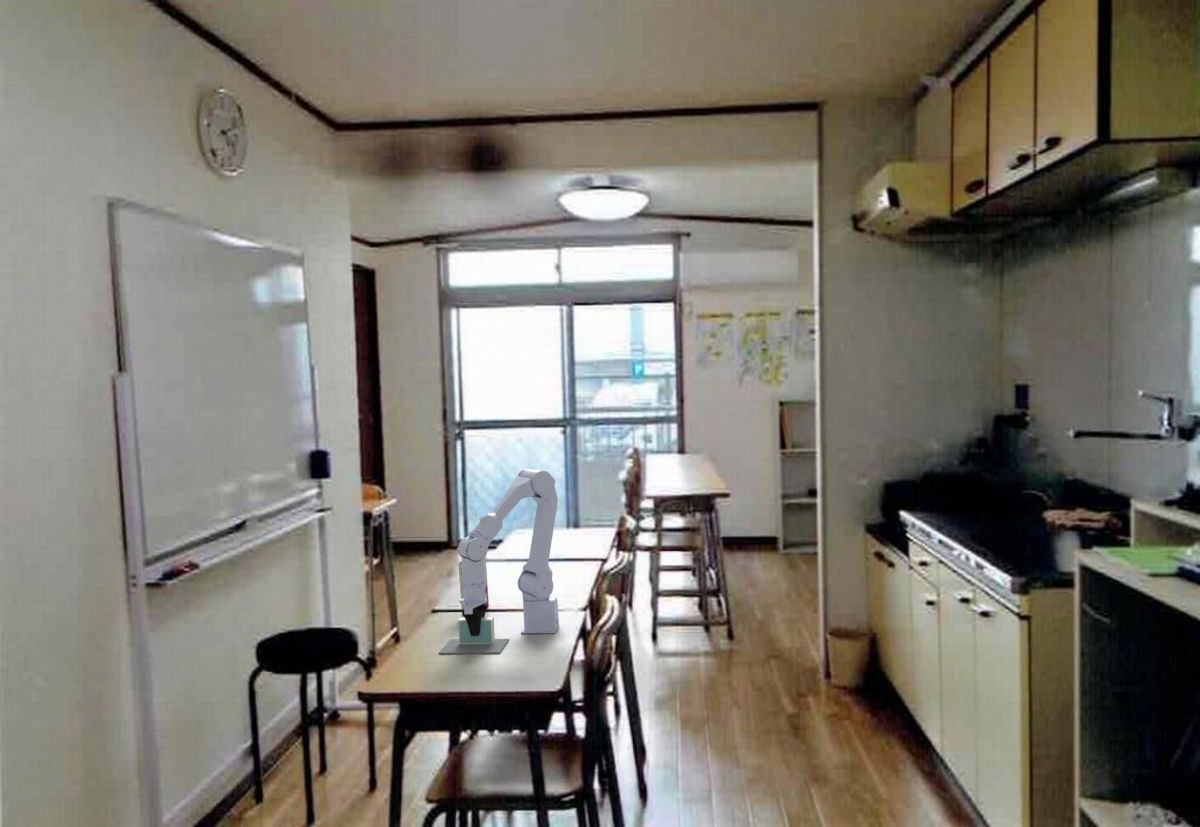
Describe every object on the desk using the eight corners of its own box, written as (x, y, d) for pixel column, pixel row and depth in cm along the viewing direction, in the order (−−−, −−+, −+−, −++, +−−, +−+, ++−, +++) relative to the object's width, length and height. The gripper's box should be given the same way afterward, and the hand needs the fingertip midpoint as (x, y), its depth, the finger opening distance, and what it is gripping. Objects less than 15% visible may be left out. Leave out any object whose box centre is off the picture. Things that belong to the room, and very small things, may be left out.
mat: (509, 640, 234) (509, 638, 234) (500, 653, 223) (500, 652, 223) (450, 640, 236) (450, 639, 236) (438, 654, 225) (438, 652, 225)
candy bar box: (473, 607, 268) (470, 553, 267) (489, 607, 267) (486, 553, 266) (460, 617, 257) (457, 562, 256) (476, 617, 256) (474, 562, 255)
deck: (494, 640, 232) (493, 617, 232) (492, 643, 230) (491, 619, 230) (461, 641, 233) (460, 617, 233) (459, 644, 231) (457, 620, 231)
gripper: (466, 576, 238) (468, 625, 239) (451, 590, 224) (454, 642, 225) (491, 575, 238) (494, 625, 238) (478, 589, 223) (481, 642, 224)
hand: (476, 633), depth 232 cm, fingers closed on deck, 2 cm apart
